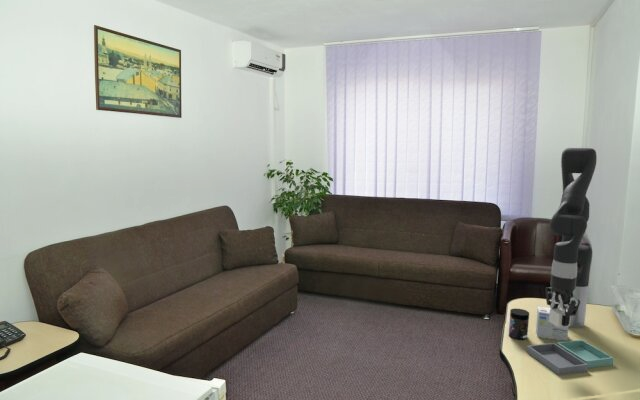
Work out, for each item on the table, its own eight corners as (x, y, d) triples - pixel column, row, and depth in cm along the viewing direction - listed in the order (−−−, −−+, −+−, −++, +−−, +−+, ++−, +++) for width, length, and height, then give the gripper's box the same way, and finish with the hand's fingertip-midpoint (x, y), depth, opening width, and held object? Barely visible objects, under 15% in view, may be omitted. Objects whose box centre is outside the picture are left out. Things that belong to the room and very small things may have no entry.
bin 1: (526, 353, 167) (527, 345, 167) (553, 350, 170) (553, 342, 169) (558, 376, 152) (559, 368, 151) (587, 373, 154) (588, 364, 154)
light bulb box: (564, 335, 182) (567, 309, 181) (567, 342, 176) (570, 315, 174) (534, 331, 186) (536, 305, 184) (536, 338, 179) (538, 311, 178)
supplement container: (514, 332, 185) (516, 307, 183) (531, 338, 179) (533, 312, 177) (504, 336, 181) (506, 310, 179) (520, 343, 175) (522, 316, 174)
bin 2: (555, 350, 170) (556, 342, 169) (581, 347, 172) (582, 339, 172) (585, 369, 156) (586, 361, 156) (613, 366, 159) (613, 357, 158)
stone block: (548, 321, 160) (550, 309, 160) (560, 320, 161) (561, 308, 161) (558, 327, 156) (559, 314, 155) (569, 325, 157) (571, 313, 156)
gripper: (539, 268, 162) (535, 315, 165) (569, 281, 148) (565, 332, 151) (558, 266, 163) (554, 313, 166) (590, 279, 150) (585, 330, 153)
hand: (559, 322), depth 159 cm, fingers closed on stone block, 4 cm apart
